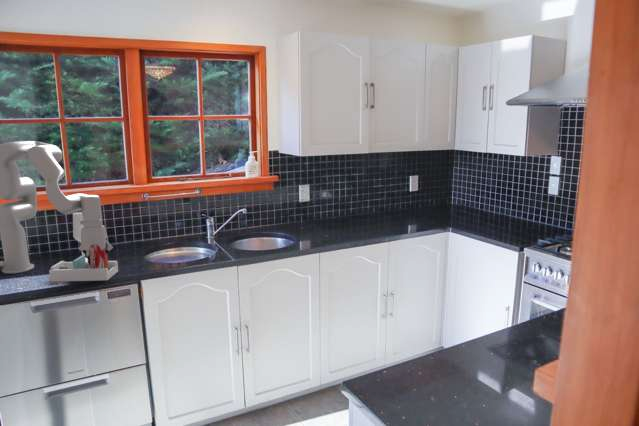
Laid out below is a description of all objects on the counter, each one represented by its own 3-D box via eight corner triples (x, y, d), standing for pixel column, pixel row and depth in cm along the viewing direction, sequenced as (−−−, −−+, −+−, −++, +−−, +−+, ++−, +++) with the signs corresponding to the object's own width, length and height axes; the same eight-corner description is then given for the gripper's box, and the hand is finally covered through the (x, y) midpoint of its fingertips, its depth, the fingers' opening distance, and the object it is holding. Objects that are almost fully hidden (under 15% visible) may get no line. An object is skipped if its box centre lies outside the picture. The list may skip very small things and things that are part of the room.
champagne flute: (84, 263, 223) (78, 214, 218) (73, 262, 225) (67, 214, 220) (94, 259, 229) (89, 212, 225) (83, 258, 231) (78, 211, 227)
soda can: (104, 267, 210) (101, 239, 207) (111, 270, 205) (109, 242, 203) (88, 271, 204) (85, 242, 202) (95, 274, 200) (92, 245, 197)
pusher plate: (74, 276, 201) (72, 261, 199) (83, 270, 209) (81, 255, 207) (77, 276, 201) (75, 261, 199) (86, 270, 209) (84, 255, 207)
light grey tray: (50, 281, 199) (48, 268, 198) (64, 272, 211) (63, 259, 209) (107, 280, 200) (106, 266, 198) (118, 271, 211) (117, 258, 210)
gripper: (68, 225, 197) (73, 267, 200) (109, 225, 197) (113, 266, 201) (77, 222, 204) (81, 261, 208) (116, 221, 205) (120, 261, 208)
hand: (97, 263), depth 204 cm, fingers closed on soda can, 4 cm apart
